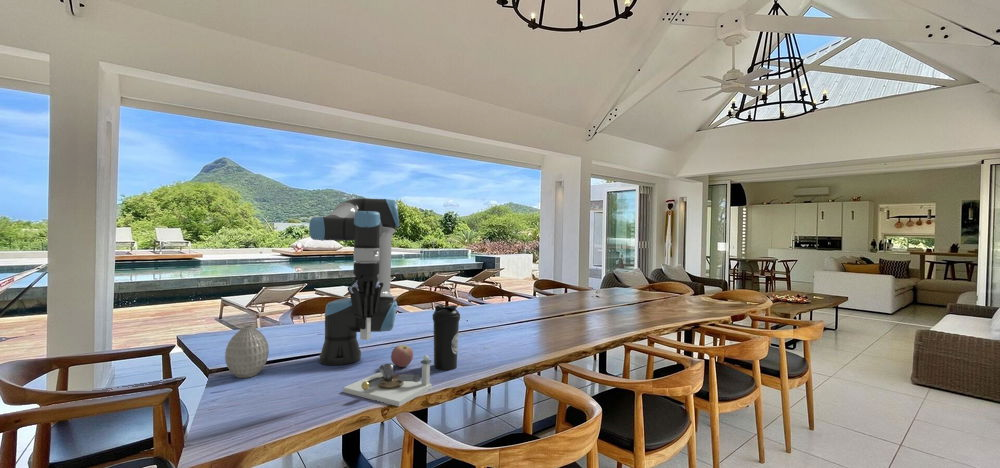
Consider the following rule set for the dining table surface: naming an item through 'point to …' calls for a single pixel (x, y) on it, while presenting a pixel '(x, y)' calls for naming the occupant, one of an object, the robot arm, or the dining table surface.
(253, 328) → the vase
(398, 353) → the apple
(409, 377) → the capstan
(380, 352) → the dining table surface
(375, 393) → the stand base
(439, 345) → the water bottle
